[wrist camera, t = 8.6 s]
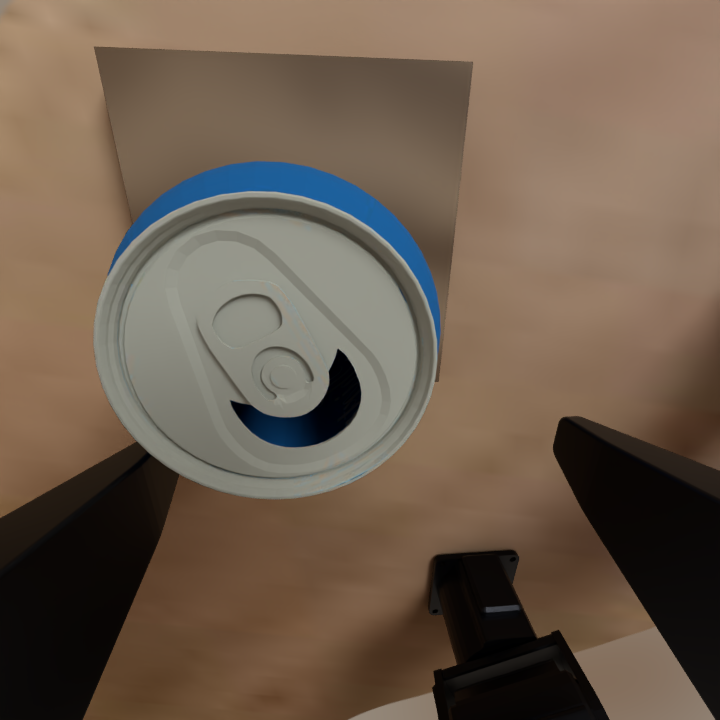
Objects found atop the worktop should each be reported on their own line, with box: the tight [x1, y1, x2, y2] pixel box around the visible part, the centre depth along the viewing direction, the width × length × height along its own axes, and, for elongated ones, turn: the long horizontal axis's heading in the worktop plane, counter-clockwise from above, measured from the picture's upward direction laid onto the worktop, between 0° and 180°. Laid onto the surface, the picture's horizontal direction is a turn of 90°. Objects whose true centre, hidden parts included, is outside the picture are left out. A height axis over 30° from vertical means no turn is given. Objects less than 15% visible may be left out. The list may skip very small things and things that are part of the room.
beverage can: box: [93, 161, 441, 499], centre depth 12 cm, size 6×6×12 cm
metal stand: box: [94, 47, 473, 382], centre depth 18 cm, size 14×14×2 cm
